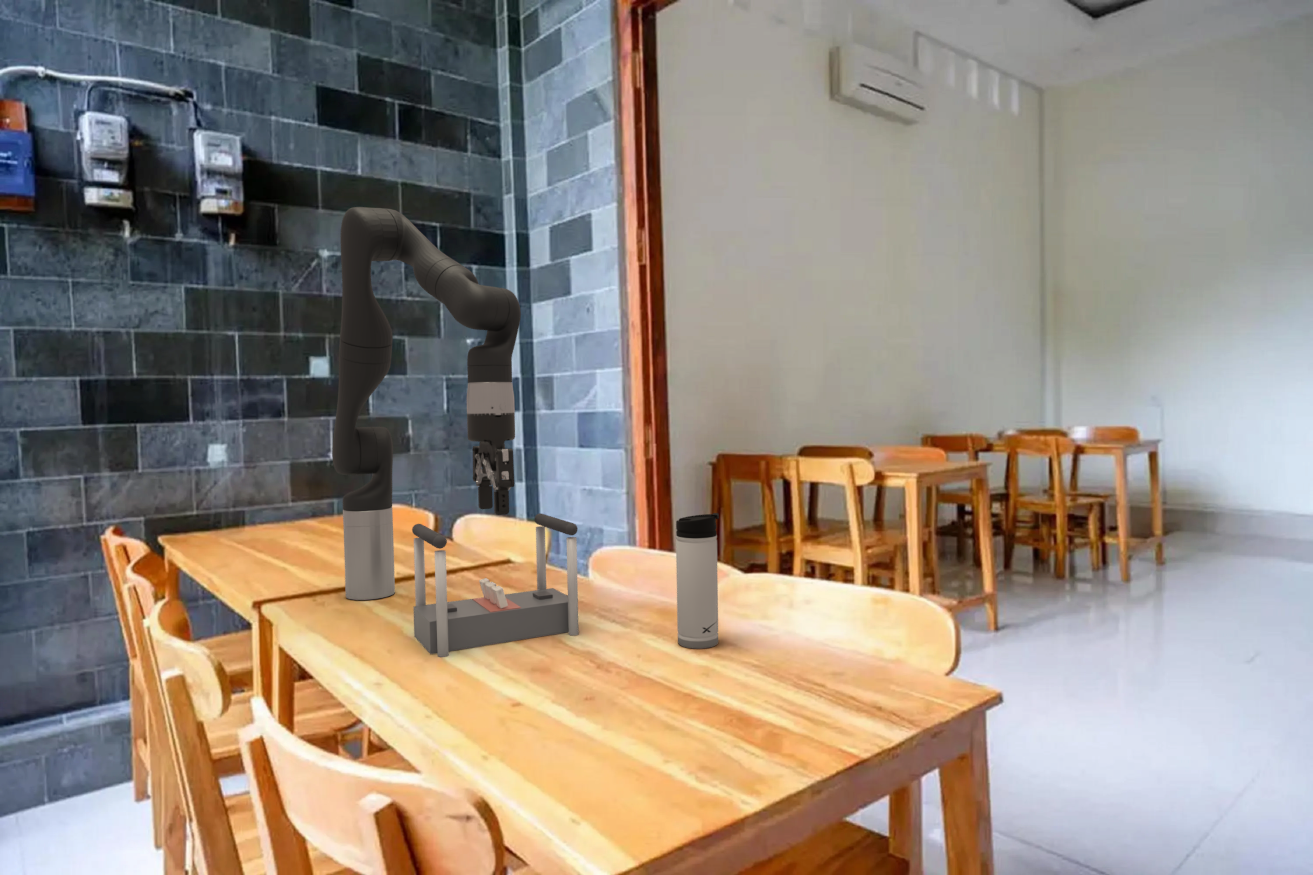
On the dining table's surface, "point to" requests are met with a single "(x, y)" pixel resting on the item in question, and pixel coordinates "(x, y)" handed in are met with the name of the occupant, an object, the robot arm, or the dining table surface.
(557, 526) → the dark grey rod
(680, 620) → the travel mug
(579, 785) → the dining table surface
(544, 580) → the pdu
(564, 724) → the dining table surface
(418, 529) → the dark grey rounded rod
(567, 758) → the dining table surface
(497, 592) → the breaker paddles
